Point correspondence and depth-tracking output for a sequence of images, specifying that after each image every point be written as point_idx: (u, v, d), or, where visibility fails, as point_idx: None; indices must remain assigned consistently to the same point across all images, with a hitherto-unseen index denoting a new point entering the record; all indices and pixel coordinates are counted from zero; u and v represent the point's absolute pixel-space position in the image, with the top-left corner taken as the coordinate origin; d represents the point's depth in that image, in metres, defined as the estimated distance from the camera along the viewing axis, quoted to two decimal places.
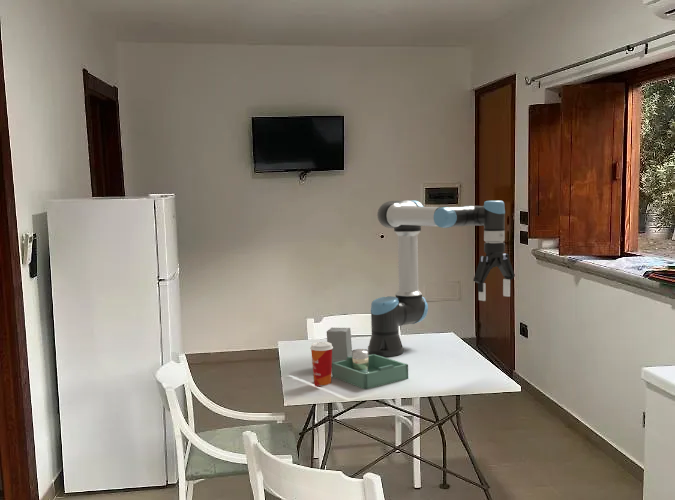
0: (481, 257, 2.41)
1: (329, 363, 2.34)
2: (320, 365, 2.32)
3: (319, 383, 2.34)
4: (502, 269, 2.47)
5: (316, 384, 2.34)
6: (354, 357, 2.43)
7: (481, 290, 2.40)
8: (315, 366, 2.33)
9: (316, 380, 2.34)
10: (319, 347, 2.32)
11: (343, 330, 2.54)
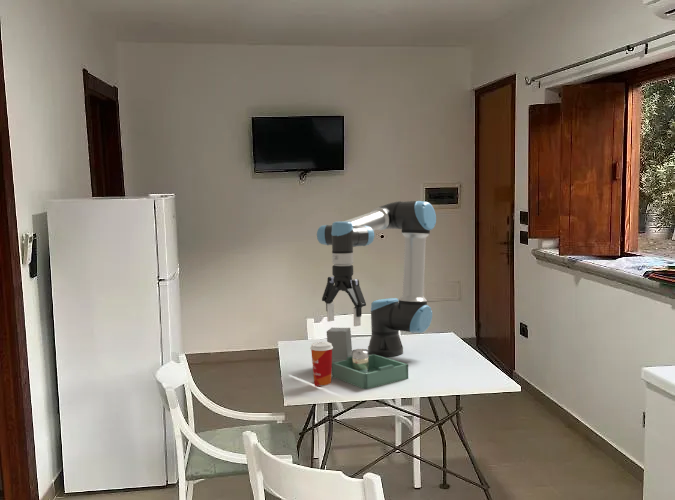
0: None
1: (329, 363, 2.34)
2: (320, 365, 2.32)
3: (319, 383, 2.34)
4: None
5: (316, 384, 2.34)
6: (354, 357, 2.43)
7: None
8: (315, 366, 2.33)
9: (316, 380, 2.34)
10: (319, 347, 2.32)
11: (343, 330, 2.54)
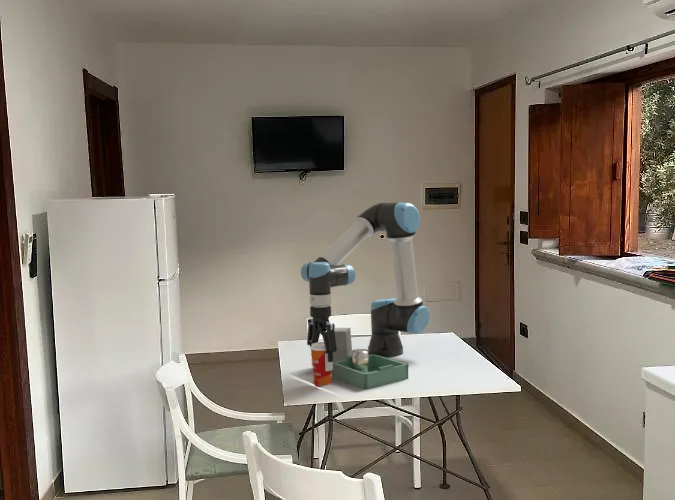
0: None
1: None
2: (320, 365, 2.32)
3: (319, 383, 2.34)
4: None
5: (316, 384, 2.34)
6: (354, 357, 2.43)
7: None
8: (315, 366, 2.33)
9: (316, 380, 2.34)
10: (319, 347, 2.32)
11: (343, 330, 2.54)
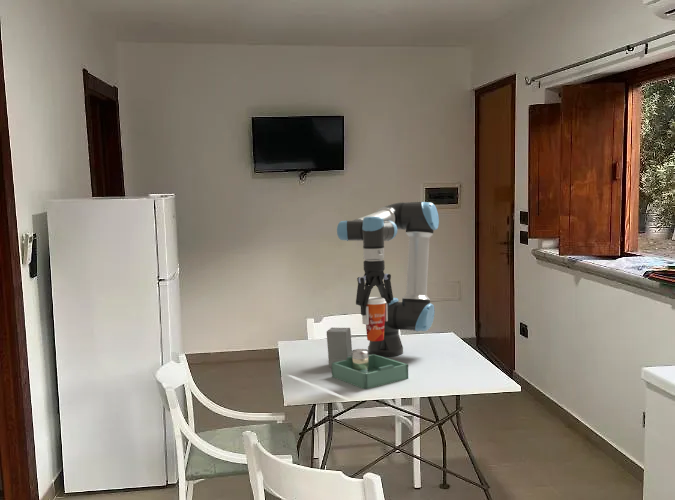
0: (358, 279, 2.31)
1: None
2: (384, 317, 2.36)
3: (383, 336, 2.35)
4: (381, 290, 2.36)
5: (381, 338, 2.34)
6: (354, 357, 2.43)
7: (364, 313, 2.32)
8: (382, 320, 2.33)
9: (382, 334, 2.34)
10: (384, 299, 2.35)
11: (343, 330, 2.54)
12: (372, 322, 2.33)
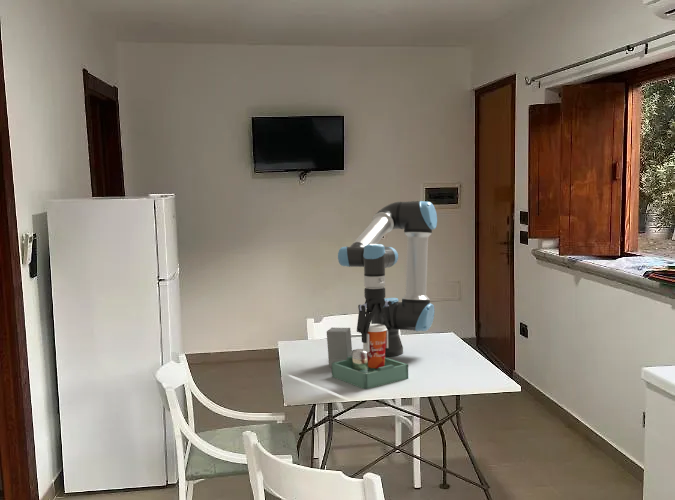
0: (359, 306, 2.32)
1: None
2: None
3: (384, 363, 2.36)
4: (381, 317, 2.37)
5: (382, 365, 2.35)
6: (354, 357, 2.43)
7: (365, 341, 2.33)
8: (382, 347, 2.34)
9: (382, 361, 2.35)
10: (385, 326, 2.35)
11: (343, 330, 2.54)
12: (373, 349, 2.34)
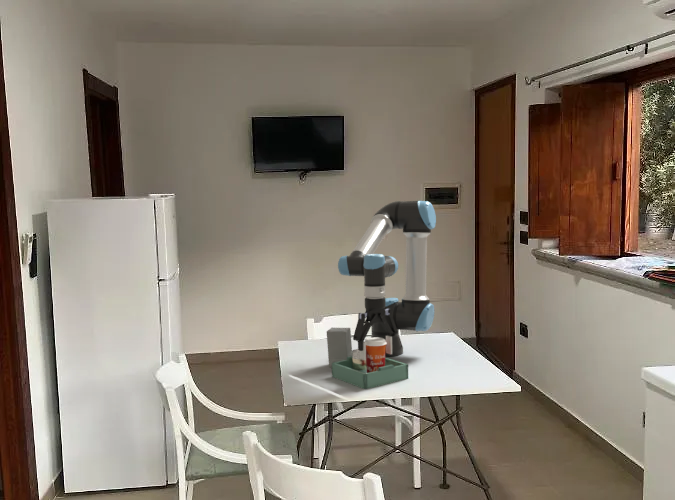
0: (359, 314, 2.32)
1: None
2: None
3: None
4: (384, 325, 2.38)
5: None
6: (354, 357, 2.43)
7: (361, 349, 2.32)
8: (382, 361, 2.35)
9: None
10: (385, 340, 2.36)
11: (343, 330, 2.54)
12: (372, 363, 2.34)
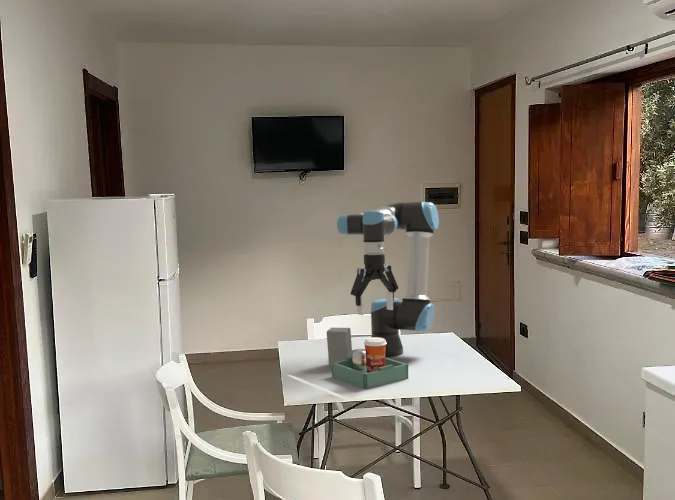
0: (359, 269, 2.31)
1: None
2: None
3: None
4: (384, 281, 2.37)
5: None
6: (354, 357, 2.43)
7: (358, 304, 2.30)
8: (382, 361, 2.35)
9: None
10: (385, 340, 2.36)
11: (343, 330, 2.54)
12: (372, 363, 2.34)
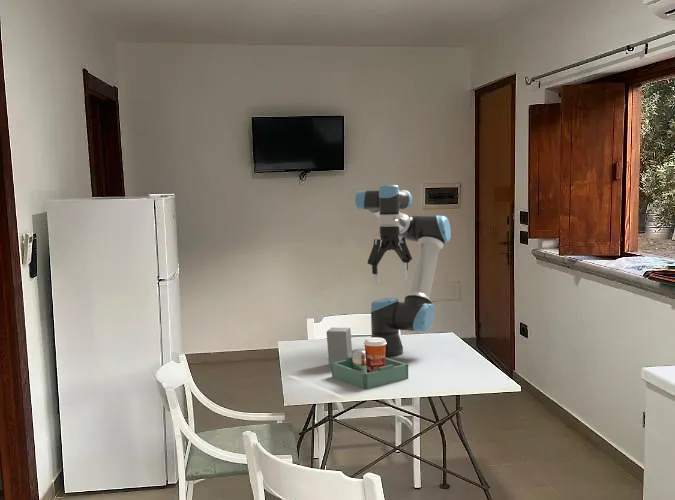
0: (375, 240, 2.46)
1: None
2: None
3: None
4: (398, 252, 2.52)
5: None
6: (354, 357, 2.43)
7: (375, 272, 2.45)
8: (382, 361, 2.35)
9: None
10: (385, 340, 2.36)
11: (343, 330, 2.54)
12: (372, 363, 2.34)
